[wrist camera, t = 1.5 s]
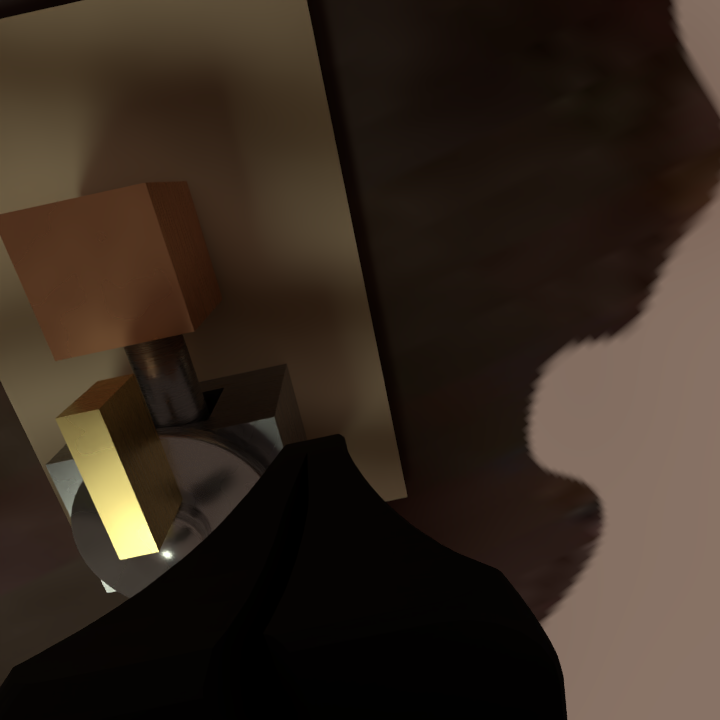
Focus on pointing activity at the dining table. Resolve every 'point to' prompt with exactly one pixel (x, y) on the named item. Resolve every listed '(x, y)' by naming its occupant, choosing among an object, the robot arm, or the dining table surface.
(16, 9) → the dining table surface
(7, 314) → the oak board
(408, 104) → the dining table surface
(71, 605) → the dining table surface
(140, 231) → the brown blocky piece
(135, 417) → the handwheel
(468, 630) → the robot arm
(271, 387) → the eye block
